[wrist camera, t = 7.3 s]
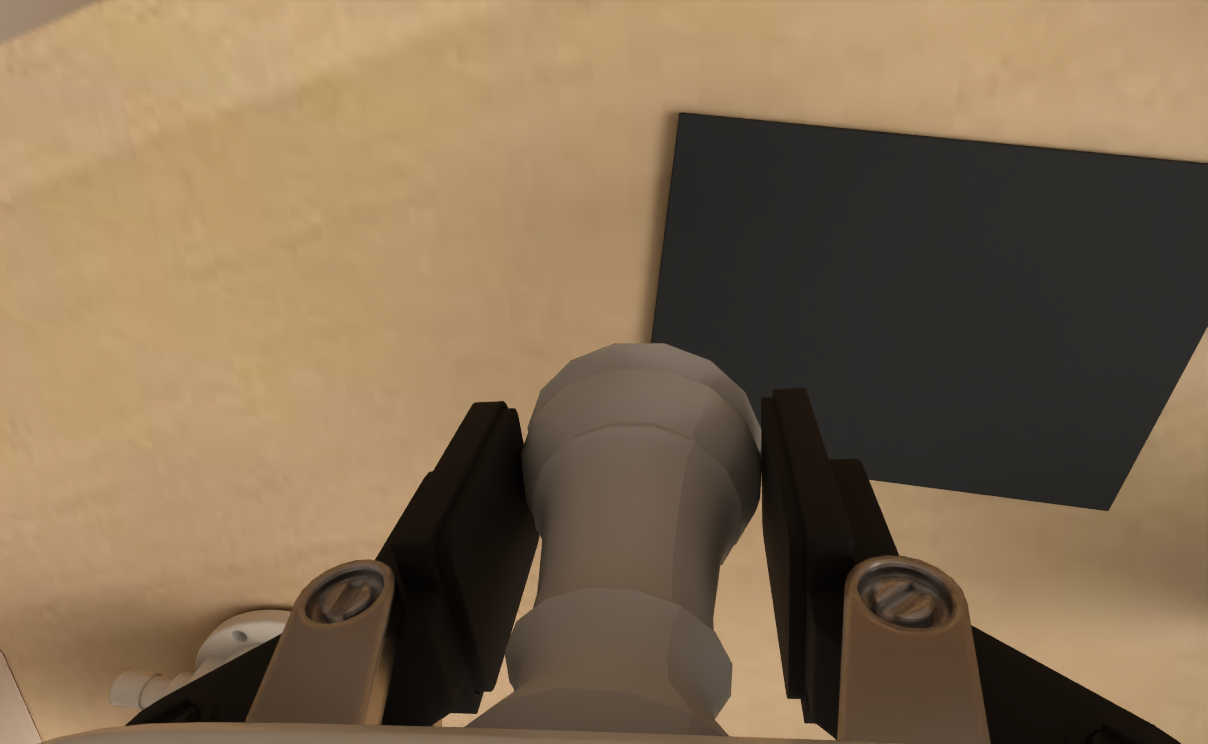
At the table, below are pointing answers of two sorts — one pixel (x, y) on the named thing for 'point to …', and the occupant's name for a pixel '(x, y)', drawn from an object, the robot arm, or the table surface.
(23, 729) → the beige rectangular box
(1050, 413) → the desk mat
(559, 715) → the rook chess piece
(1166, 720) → the table surface
